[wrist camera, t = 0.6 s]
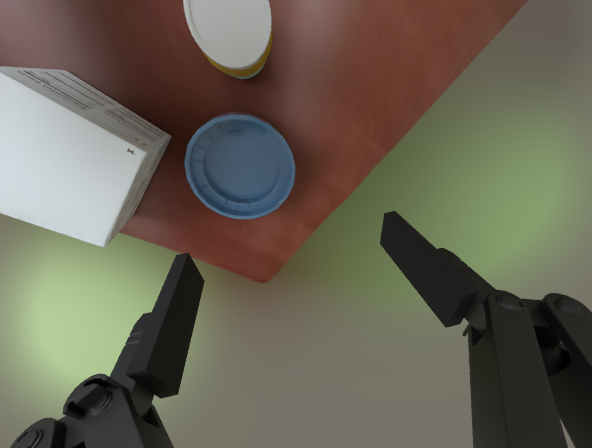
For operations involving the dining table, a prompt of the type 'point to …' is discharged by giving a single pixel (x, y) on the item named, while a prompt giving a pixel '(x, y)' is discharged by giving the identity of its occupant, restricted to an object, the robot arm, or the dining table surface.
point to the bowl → (240, 165)
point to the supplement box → (72, 154)
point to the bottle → (232, 33)
